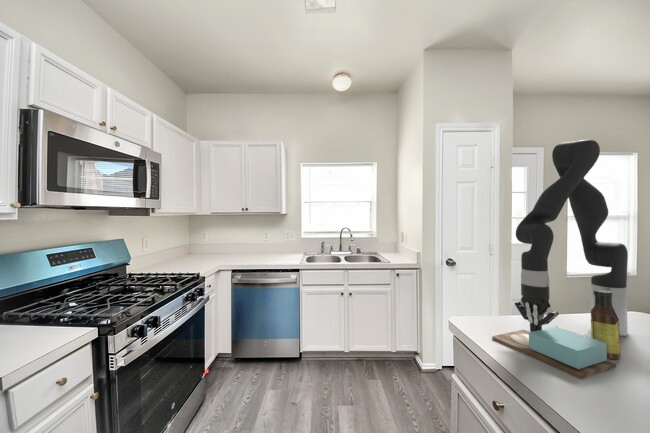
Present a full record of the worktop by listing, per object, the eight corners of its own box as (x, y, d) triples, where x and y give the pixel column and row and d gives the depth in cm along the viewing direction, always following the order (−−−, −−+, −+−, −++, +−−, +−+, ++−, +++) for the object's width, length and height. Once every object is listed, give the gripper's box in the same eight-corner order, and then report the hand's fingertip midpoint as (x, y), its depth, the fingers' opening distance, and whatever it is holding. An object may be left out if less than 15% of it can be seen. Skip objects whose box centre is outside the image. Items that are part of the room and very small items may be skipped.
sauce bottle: (627, 361, 81) (625, 294, 82) (602, 359, 83) (600, 293, 83) (609, 351, 88) (607, 289, 88) (586, 349, 89) (584, 288, 89)
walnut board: (523, 332, 103) (523, 328, 103) (615, 367, 79) (615, 362, 79) (492, 339, 98) (492, 335, 98) (580, 378, 73) (580, 373, 73)
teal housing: (556, 341, 92) (555, 326, 92) (606, 360, 79) (606, 342, 79) (529, 348, 87) (528, 332, 87) (578, 369, 75) (577, 350, 75)
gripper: (564, 286, 87) (566, 341, 86) (522, 278, 99) (523, 326, 99) (548, 288, 84) (550, 345, 84) (507, 279, 97) (508, 329, 96)
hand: (535, 334), depth 91 cm, fingers closed
